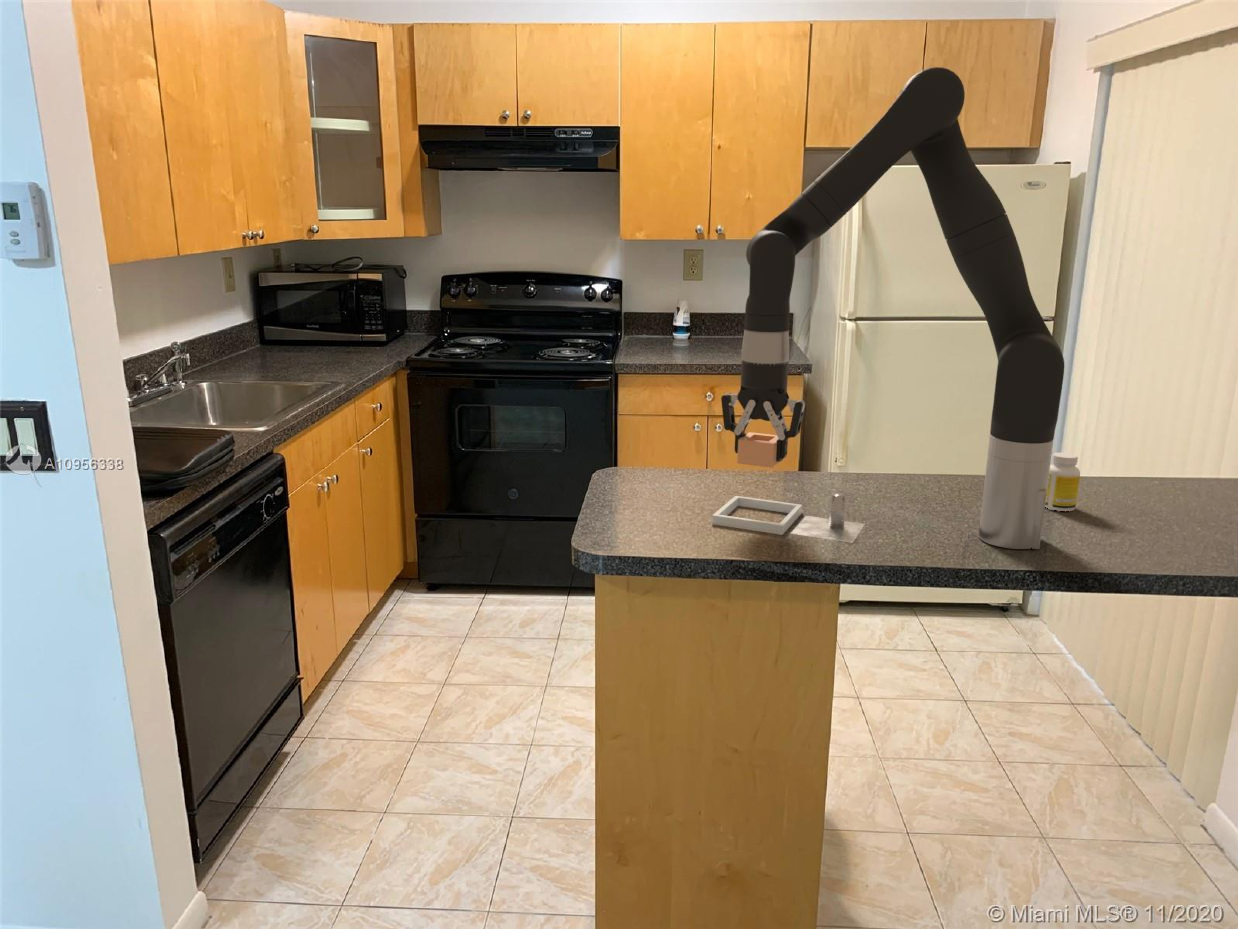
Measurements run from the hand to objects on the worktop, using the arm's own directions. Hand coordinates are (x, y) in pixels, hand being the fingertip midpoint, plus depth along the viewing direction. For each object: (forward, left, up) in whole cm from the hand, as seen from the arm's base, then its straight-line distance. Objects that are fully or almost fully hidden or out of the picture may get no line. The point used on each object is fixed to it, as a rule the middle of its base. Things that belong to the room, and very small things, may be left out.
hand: (760, 457), depth 154 cm
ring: (0, 0, -1) cm, 1 cm away
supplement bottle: (-46, -32, -12) cm, 57 cm away
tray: (0, 0, -12) cm, 12 cm away
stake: (-12, 0, -12) cm, 17 cm away
